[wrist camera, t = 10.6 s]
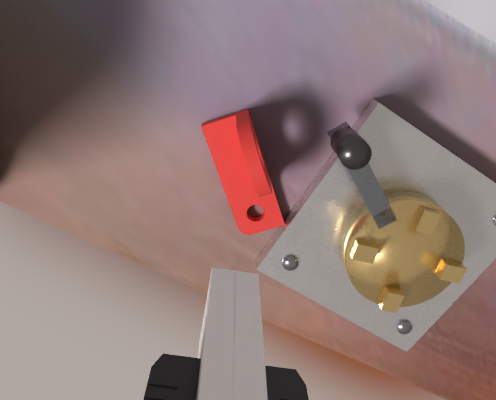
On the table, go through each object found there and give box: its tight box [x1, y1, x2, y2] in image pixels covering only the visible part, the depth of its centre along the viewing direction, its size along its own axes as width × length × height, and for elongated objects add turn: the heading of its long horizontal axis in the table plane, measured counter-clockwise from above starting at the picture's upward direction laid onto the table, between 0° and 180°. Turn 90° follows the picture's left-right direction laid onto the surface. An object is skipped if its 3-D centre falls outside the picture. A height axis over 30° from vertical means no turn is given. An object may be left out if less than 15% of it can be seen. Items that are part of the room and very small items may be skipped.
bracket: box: [201, 109, 285, 235], centre depth 42 cm, size 12×4×8 cm, turn 18°
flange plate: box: [256, 99, 496, 352], centre depth 47 cm, size 20×20×2 cm
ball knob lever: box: [327, 122, 467, 313], centre depth 41 cm, size 20×11×7 cm, turn 30°
